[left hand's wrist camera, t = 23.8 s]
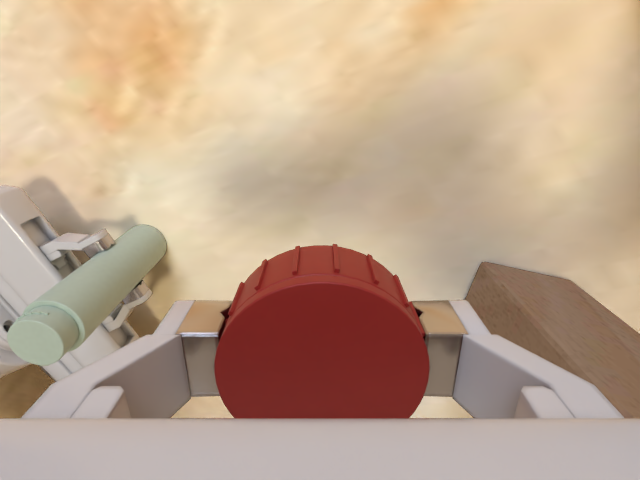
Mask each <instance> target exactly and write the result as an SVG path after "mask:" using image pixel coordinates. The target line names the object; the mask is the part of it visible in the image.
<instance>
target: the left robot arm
mask: <svg viewBox="0 0 640 480" xmlns="http://www.w3.org/2000/svg"><path fill="white" fill-rule="evenodd" d="M232 302H233V301H212V300H197V301H196V300H178V301H175V302H174V304H173V305H172V307H171V308H170V310H169V311H168V312H167V314H166V315H165V317H164V318H163V320H162V321H161V323H160V324H159V326H158V327H157V329H156V330H155V332H154V333H153V334H152V335H145V336H143V337H141V338H139V339H137V340H135V341H133V342H131V343H130V344H128V345H126V346H124V347H122V348H120V349H118V350H116V351H114V352H112V353H110V354H108V355H107V356H105V357H103V358H101V359H99V360H97V361H95V362H93V363H91V364H89V365H87V366H86V367H84V368H82V369H80V370H78V371H76V372H74V373H72V374H70V375H68V376H66V377H64V378H63V379H61V380H59V381H57V382H55V383H53V384H51V385H50V386H49V387H48V388H47V390H46V391H45V392H44V393H43V394H42V395H41V396H40V397H39V398H38V399H37V401H36V402H35V403H34V404H33V405H32V406H31V407H30V408H29V409H28V411H27V412H26V413H25V414H24V415H23V416H22V417H21V418H0V480H640V418H624V417H623V416H622V415H621V414H620V412H619V411H618V410H617V409H616V408H615V407H614V406H613V405H612V404H611V403H610V402H609V400H608V399H607V398H606V397H605V396H604V395H603V394H602V393H601V392H600V391H599V390H598V388H597V387H596V386H595V385H593V384H591V383H589V382H588V381H586V380H584V379H582V378H580V377H578V376H576V375H574V374H572V373H570V372H568V371H566V370H564V369H563V368H561V367H559V366H557V365H555V364H553V363H551V362H549V361H547V360H545V359H543V358H541V357H539V356H538V355H536V354H534V353H532V352H530V351H528V350H526V349H524V348H522V347H520V346H518V345H516V344H514V343H512V342H511V341H509V340H507V339H505V338H503V337H501V336H499V335H491V333H490V332H489V330H488V329H487V328H486V326H485V325H484V323H483V322H482V321H481V319H480V318H479V316H478V315H477V313H476V312H475V311H474V309H473V308H472V306H471V305H470V304H469V302H468V301H466V300H443V301H412V304H413V306H414V308H415V310H416V313H417V315H418V317H419V321H420V323H421V325H422V327H423V330H424V332H425V335H424V337H423V339H424V341H425V344H426V346H427V350H428V355H429V365H430V371H429V379H428V384H427V387H426V391H425V394H424V396H445V397H453V399H454V400H455V401H456V402H457V403H458V404H459V405H461V406H462V407H463V408H464V409H465V410H466V411H467V412H468V413H469V414H470V415H471V416H472V417H474V418H170V417H171V416H173V415H174V414H175V413H176V412H177V411H178V410H179V409H180V408H181V407H182V406H183V405H184V404H185V403H187V402H188V401H189V400H190V399H191V397H198V396H220V394H219V391H218V388H217V385H216V380H215V373H214V362H215V355H216V350H217V347H218V344H219V341H220V338H221V336H222V333H223V331H224V328H225V326H226V323H225V320H226V319H228V318H229V315H228V312H229V310H230V307H231V305H232ZM410 302H411V301H410Z"/></svg>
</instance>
